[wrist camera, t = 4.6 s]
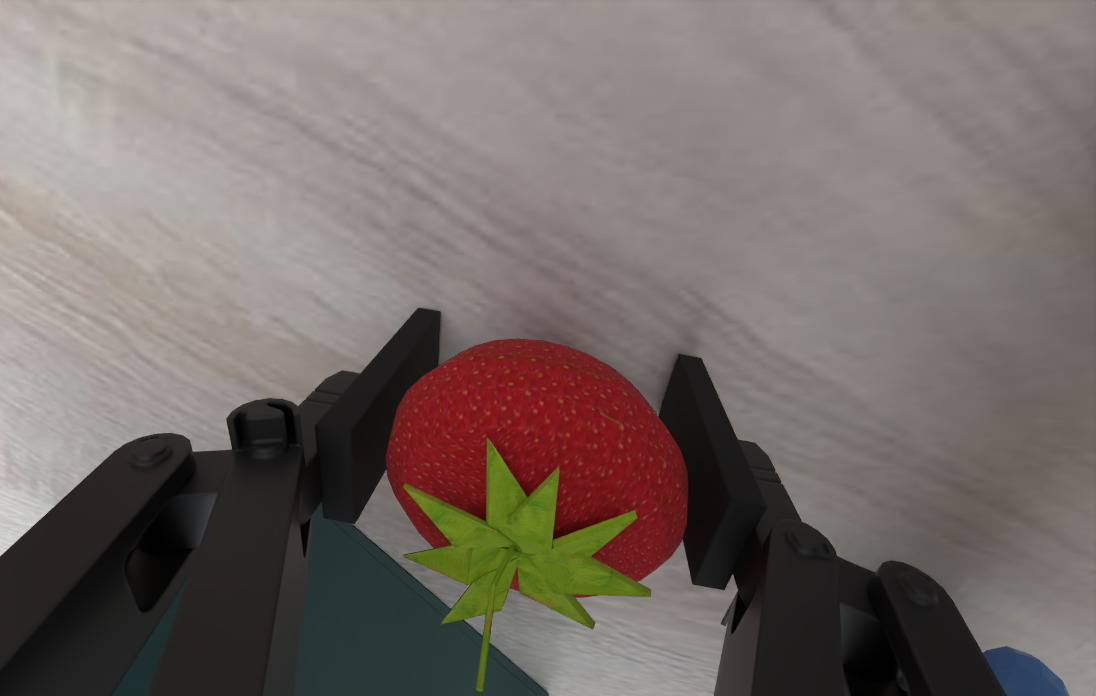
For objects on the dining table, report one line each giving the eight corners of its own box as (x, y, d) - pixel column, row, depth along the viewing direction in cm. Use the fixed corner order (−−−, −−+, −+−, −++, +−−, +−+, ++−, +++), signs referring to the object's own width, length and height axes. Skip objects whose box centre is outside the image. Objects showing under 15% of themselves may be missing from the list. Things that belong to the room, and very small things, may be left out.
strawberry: (609, 463, 18) (628, 807, 9) (427, 384, 17) (250, 682, 8) (696, 342, 15) (841, 657, 7) (487, 240, 14) (322, 447, 6)
